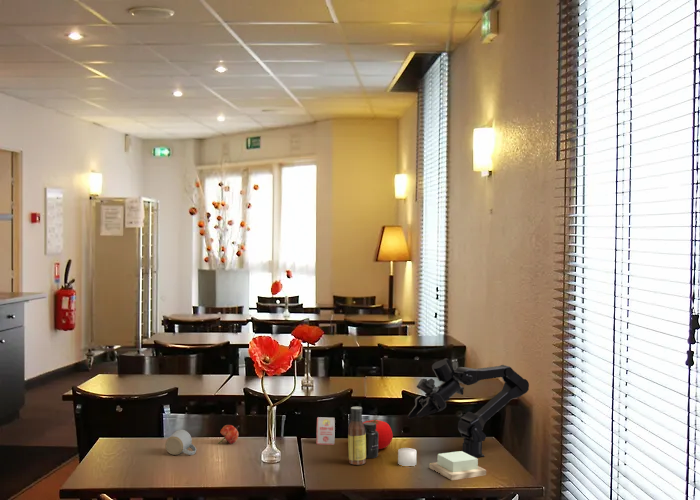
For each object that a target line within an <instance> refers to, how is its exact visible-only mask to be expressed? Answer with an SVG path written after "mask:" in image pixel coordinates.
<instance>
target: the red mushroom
mask: <svg viewBox="0 0 700 500" xmlns="http://www.w3.org/2000/svg"><path fill="white" fill-rule="evenodd" d="M238 428H240V425H237V426H234V425H232V424H226V425H223V427H222V428H221V429H220V430H219V431H220V432H219V433H220V434H221V435H222V436H223V437H224V438H222V439H221V440H220V441H219V442H218V443H217V444H220V443H222V442H223V441H224V440H225V441H227V442H228V444H231V445H232V444H234V443H235V442H237V440H238V438H239V431H238Z"/></svg>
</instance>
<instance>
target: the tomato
mask: <svg viewBox="0 0 700 500" xmlns="http://www.w3.org/2000/svg"><path fill="white" fill-rule="evenodd" d="M362 422H363V423H366V422H373V423H376V431H377V432H378V433H379V443H378V450H382V449H384V448H387V447H389V445H391V444H392V443H391V442H392V441H393V437H394V434H393V431H392V428H391V426H390V425H389V423H387V421H383V420H378V419H372V420H369V419H368V420H365V421H362Z"/></svg>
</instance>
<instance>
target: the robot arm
mask: <svg viewBox="0 0 700 500" xmlns="http://www.w3.org/2000/svg"><path fill="white" fill-rule="evenodd" d="M431 368H432V371H433V372H434V374H435V376H436V378H437V380H438V381H439V382H442V383H441V384H440V385H438V386H436V385H435V382H436V381H435V379H433V378H429V379H427V378H421V379H420V380H419V382H418V384H417V385H416V388H417V389H418V390H421V391H422V392H424V393H425V394H424V395H420V396H419V395H418V396H417V397H416V398H414V403H415V404H414V407H413V408H412V410H411V411H410V412H409V413H408V415H407V418H408V419H410V420H411V419H413V418H416V417H417V418H421V417H425V416H428V415H432V414H436V413H438V412H441V411H443V410H445V409H446V408H447V402H448V401H450V400H451V397H453V396H454V395H456V394H459V395H462V396H463V395H464V390H465V387H463V386H462V385H466V386H472V385H474V384H477V383H478V382H479V381H483V380H489V379H499V378H501V379H502V381H503V382H504V384H503V388H502V390H500V391H499V392H498V393H497V394H496V395H494V396H493V397H492V398H491V399H490V400H489V401H488V402H487V403H486V404H484V405H483V406H481V407H480V408H479V409H478V410H477V411H476V412H474V413H473V412H471V411H466V413H465V414H464V415H463V416H460V419H459V420H458V422H457V429H458V432H459V433H460V436H461V437H463V442H462V447H461V449H462V450H461V451H463V452H465V453H467V454H469V455H471V456H473V457H475V458H480V457H481V458H482V457H485V454H483V442H485V441H486V437H487V434H485V433H484V431H483V430H484V427H485V424H486V422H487V421H488V420H490V419H491V417H493V416H494V415H496V413H497V412H499V411H500V410H501V409H503V407H505V406H506V405H507V404H508V403H509V402H510V401H511V400H513V399H518V398H520V397H522V396H524V395H526V394H527V393H528V391H529V390H530V384H529V381H528V380H527V379H525V378H523V376H521V375H520V374H519V373H517V372H516V371H515V370H514V369H513V368H512V367H511V366H508V365H504V364H501V365H496V366H488V367H480V368H471V367H465V366H464V367H463V366H458V367H457V368H456V369H455V368H453V366H452V364H451V361H450V359H449V358H444V359H440V360H438V361H435V362H434V363H433V364H432V365H431ZM461 384H462V385H461Z"/></svg>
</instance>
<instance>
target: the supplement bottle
mask: <svg viewBox="0 0 700 500" xmlns="http://www.w3.org/2000/svg"><path fill="white" fill-rule="evenodd" d="M363 425H364V427H365V432H366V459H375V458H377V457H378V456H379V449H378V443H379V433H378V432H377V431H376V423H373V422H366V423H363Z"/></svg>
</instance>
